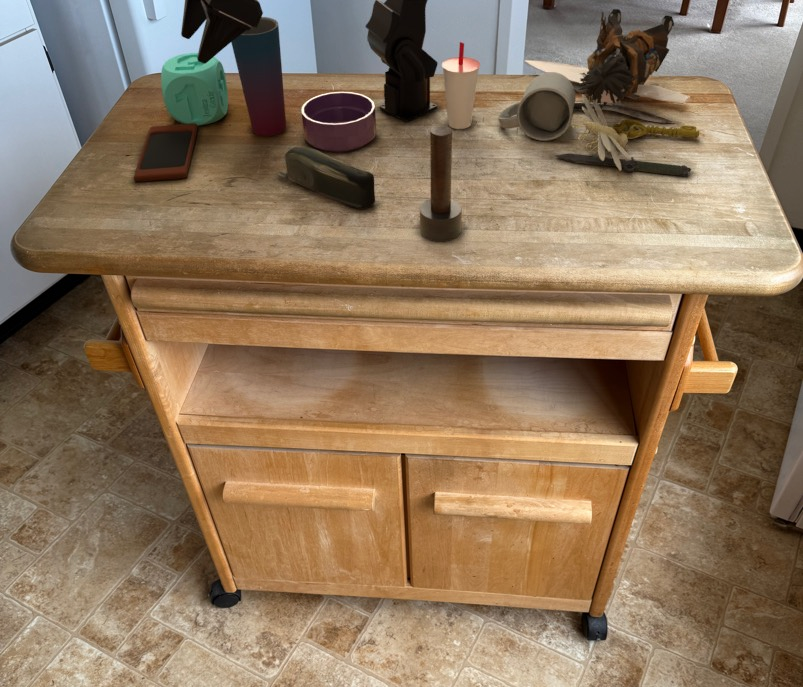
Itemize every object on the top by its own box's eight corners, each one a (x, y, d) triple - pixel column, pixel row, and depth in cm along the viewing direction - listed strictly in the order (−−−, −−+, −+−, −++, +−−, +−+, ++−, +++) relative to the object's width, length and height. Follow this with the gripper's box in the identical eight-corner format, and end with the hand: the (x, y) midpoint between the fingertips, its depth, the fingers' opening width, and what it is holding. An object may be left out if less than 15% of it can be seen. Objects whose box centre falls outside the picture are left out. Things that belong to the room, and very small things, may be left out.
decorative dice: (170, 127, 113) (157, 75, 108) (179, 103, 119) (167, 53, 114) (223, 125, 114) (213, 72, 108) (230, 101, 119) (221, 51, 114)
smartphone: (151, 131, 113) (134, 183, 102) (149, 125, 112) (132, 177, 101) (198, 128, 113) (187, 179, 102) (197, 122, 113) (185, 172, 102)
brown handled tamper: (440, 213, 94) (441, 115, 86) (469, 229, 92) (473, 130, 83) (411, 229, 92) (409, 130, 83) (440, 246, 89) (441, 146, 80)
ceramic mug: (573, 117, 112) (579, 66, 107) (569, 143, 106) (574, 91, 101) (502, 113, 115) (505, 62, 109) (494, 138, 109) (496, 86, 104)
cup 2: (463, 112, 115) (465, 32, 107) (485, 125, 111) (489, 43, 103) (434, 122, 113) (434, 41, 105) (455, 135, 109) (457, 53, 101)
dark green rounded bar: (377, 169, 93) (285, 136, 100) (363, 180, 92) (270, 146, 98) (378, 204, 97) (289, 170, 103) (364, 215, 95) (274, 179, 101)
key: (700, 123, 107) (699, 139, 103) (698, 131, 108) (697, 148, 104) (614, 115, 110) (611, 131, 106) (613, 124, 110) (609, 139, 107)
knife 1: (678, 110, 111) (679, 105, 110) (514, 68, 124) (514, 63, 124) (694, 95, 114) (695, 90, 114) (532, 56, 128) (533, 52, 127)
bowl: (345, 114, 116) (343, 85, 112) (391, 136, 110) (389, 107, 107) (290, 137, 110) (286, 107, 107) (335, 162, 105) (332, 131, 102)
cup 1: (284, 140, 110) (268, 35, 100) (239, 137, 111) (220, 33, 101) (298, 119, 115) (284, 17, 104) (255, 116, 116) (238, 15, 106)
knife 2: (672, 135, 109) (676, 120, 112) (674, 127, 108) (678, 111, 111) (546, 113, 114) (553, 99, 117) (547, 105, 113) (555, 90, 116)
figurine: (682, 0, 116) (665, 50, 93) (661, 85, 124) (641, 151, 101) (609, -9, 119) (575, 38, 96) (594, 75, 127) (558, 137, 104)
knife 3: (692, 161, 100) (691, 175, 98) (690, 167, 101) (689, 180, 99) (555, 147, 104) (552, 160, 102) (555, 152, 105) (551, 165, 103)
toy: (550, 115, 108) (566, 84, 104) (605, 126, 110) (621, 96, 107) (580, 178, 98) (599, 146, 95) (639, 189, 101) (658, 158, 98)
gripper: (161, -123, 93) (118, 0, 99) (196, -89, 80) (144, 48, 86) (243, -76, 99) (198, 35, 106) (287, -39, 87) (233, 85, 93)
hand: (192, 49), depth 97 cm, fingers open, 9 cm apart
